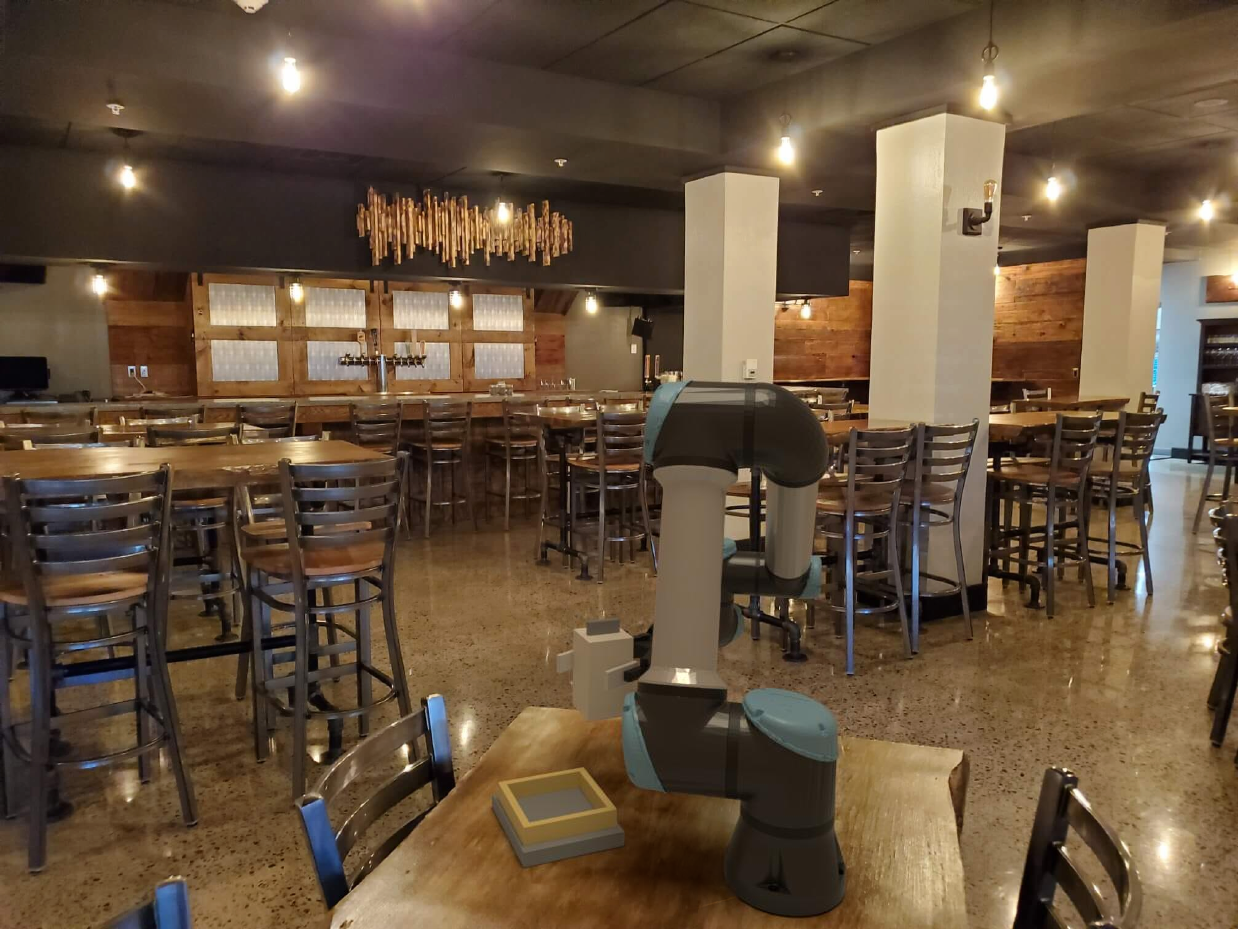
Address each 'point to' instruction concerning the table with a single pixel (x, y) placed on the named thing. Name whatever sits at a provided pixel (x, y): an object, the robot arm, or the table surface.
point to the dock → (556, 816)
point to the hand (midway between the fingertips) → (581, 672)
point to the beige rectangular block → (599, 668)
